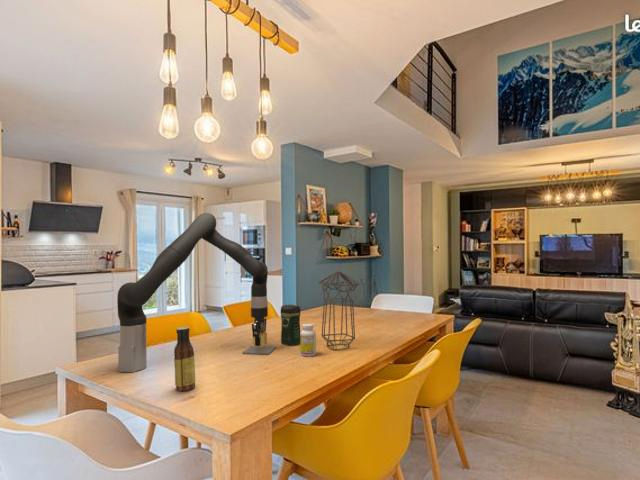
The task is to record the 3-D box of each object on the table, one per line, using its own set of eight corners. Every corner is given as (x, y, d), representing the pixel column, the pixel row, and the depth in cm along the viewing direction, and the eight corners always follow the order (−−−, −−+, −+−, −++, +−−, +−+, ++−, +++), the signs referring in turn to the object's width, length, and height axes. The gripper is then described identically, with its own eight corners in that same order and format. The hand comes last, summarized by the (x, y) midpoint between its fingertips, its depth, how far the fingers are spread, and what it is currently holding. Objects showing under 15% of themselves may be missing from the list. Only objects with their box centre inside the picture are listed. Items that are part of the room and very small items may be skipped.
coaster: (268, 354, 160) (268, 353, 160) (242, 354, 162) (242, 352, 162) (276, 347, 172) (276, 346, 172) (251, 346, 174) (251, 345, 174)
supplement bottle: (306, 351, 164) (305, 322, 165) (318, 353, 161) (318, 324, 161) (297, 355, 159) (297, 325, 159) (310, 357, 155) (310, 326, 155)
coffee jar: (304, 343, 179) (303, 304, 180) (292, 346, 173) (291, 306, 174) (290, 340, 186) (289, 303, 186) (278, 343, 180) (277, 305, 180)
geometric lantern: (316, 345, 176) (316, 270, 177) (347, 342, 181) (346, 270, 183) (329, 353, 161) (329, 272, 163) (361, 350, 166) (361, 271, 168)
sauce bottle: (197, 384, 126) (197, 325, 126) (192, 391, 120) (191, 329, 120) (178, 385, 126) (177, 326, 126) (171, 392, 119) (171, 330, 120)
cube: (263, 346, 165) (263, 335, 165) (252, 346, 165) (252, 334, 166) (266, 343, 170) (266, 332, 170) (256, 343, 170) (256, 332, 171)
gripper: (262, 308, 160) (262, 348, 160) (271, 303, 174) (272, 340, 174) (245, 308, 162) (246, 348, 161) (256, 303, 176) (256, 340, 175)
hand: (259, 343), depth 168 cm, fingers closed on cube, 5 cm apart
